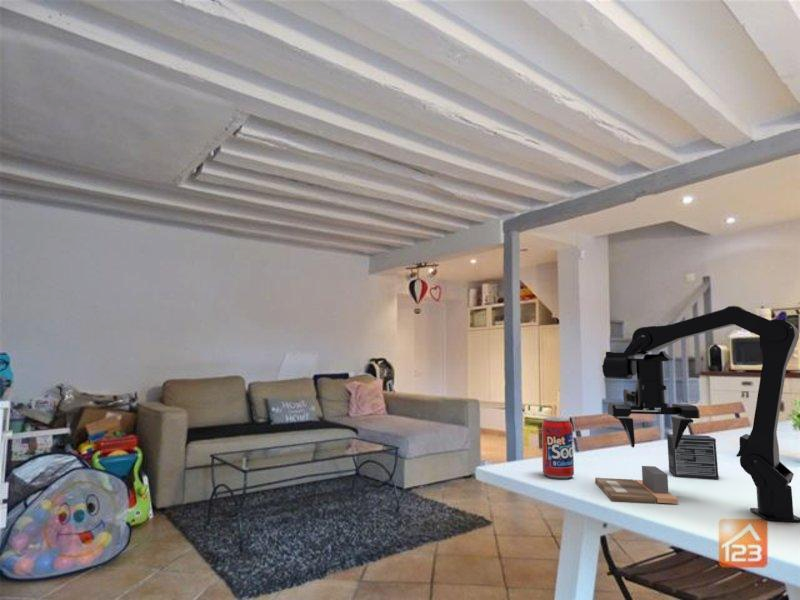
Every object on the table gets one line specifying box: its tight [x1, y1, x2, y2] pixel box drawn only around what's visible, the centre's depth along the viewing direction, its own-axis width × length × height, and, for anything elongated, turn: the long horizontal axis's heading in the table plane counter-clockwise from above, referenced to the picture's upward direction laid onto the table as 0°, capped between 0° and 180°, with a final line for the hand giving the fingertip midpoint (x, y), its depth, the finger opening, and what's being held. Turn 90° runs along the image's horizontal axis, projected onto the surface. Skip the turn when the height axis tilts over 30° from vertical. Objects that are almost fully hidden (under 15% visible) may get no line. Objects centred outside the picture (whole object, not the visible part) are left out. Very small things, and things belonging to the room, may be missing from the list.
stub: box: [633, 465, 679, 505], centre depth 115 cm, size 16×4×5 cm, turn 171°
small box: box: [666, 433, 720, 480], centre depth 133 cm, size 11×6×10 cm, turn 74°
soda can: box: [541, 416, 575, 480], centre depth 131 cm, size 8×8×15 cm
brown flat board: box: [594, 477, 657, 504], centre depth 116 cm, size 16×9×1 cm, turn 171°
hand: (653, 447), depth 116 cm, fingers open, 9 cm apart
